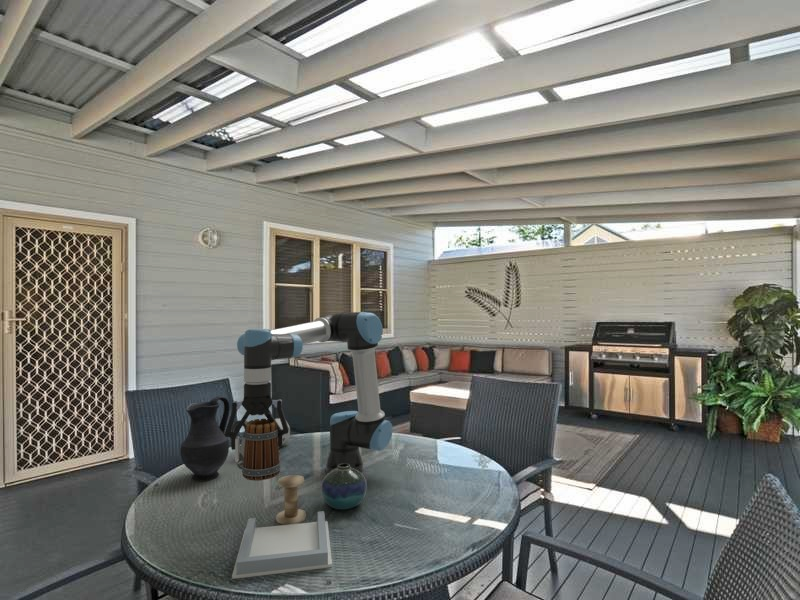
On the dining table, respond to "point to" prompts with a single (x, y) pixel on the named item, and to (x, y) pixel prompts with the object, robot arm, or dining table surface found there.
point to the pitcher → (206, 440)
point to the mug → (259, 450)
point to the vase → (343, 487)
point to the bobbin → (291, 500)
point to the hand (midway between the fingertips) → (257, 459)
